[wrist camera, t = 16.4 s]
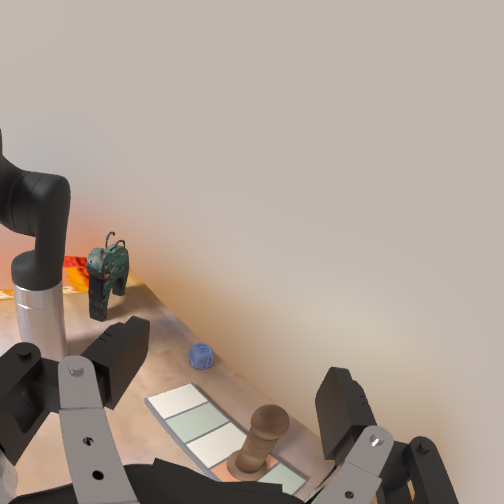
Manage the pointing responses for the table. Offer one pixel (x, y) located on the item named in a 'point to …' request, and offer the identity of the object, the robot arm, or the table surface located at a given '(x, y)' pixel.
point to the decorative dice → (201, 356)
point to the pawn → (258, 443)
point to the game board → (211, 436)
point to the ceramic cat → (106, 276)
